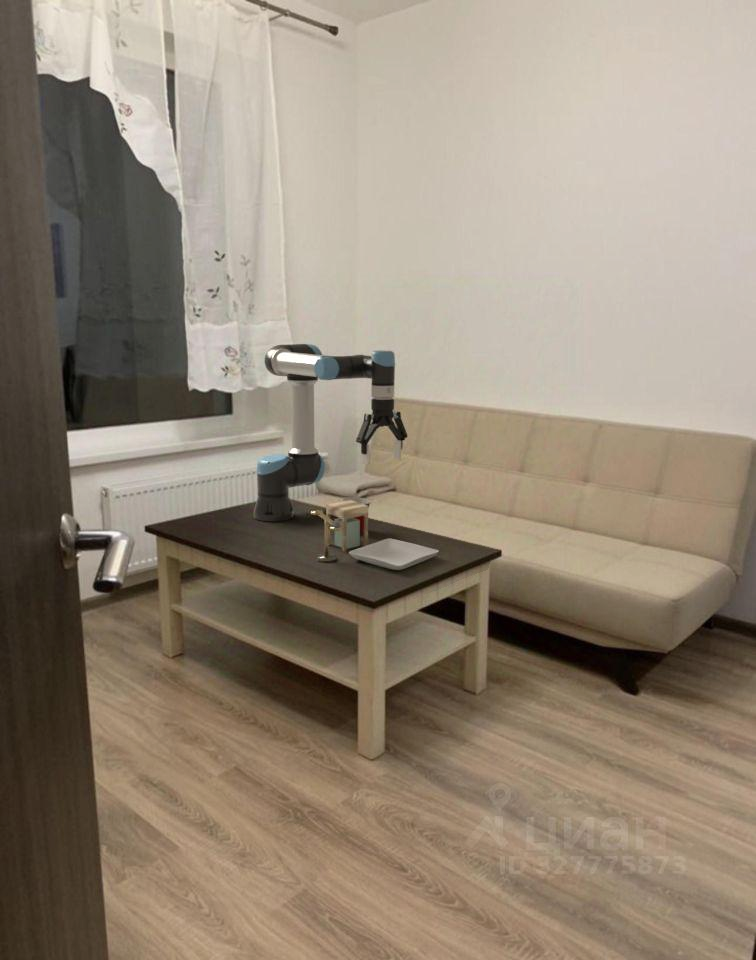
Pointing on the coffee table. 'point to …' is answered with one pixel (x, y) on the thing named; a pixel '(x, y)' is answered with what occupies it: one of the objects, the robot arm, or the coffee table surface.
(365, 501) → the plastic cup
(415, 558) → the salad plate
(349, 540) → the block
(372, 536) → the coffee table surface
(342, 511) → the wooden stool
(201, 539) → the coffee table surface
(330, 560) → the balance
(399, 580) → the coffee table surface
